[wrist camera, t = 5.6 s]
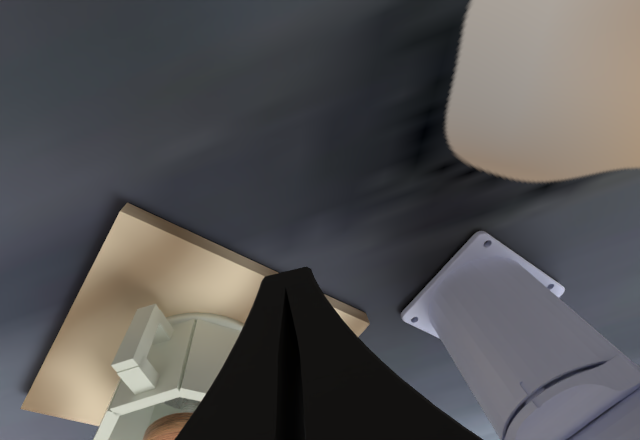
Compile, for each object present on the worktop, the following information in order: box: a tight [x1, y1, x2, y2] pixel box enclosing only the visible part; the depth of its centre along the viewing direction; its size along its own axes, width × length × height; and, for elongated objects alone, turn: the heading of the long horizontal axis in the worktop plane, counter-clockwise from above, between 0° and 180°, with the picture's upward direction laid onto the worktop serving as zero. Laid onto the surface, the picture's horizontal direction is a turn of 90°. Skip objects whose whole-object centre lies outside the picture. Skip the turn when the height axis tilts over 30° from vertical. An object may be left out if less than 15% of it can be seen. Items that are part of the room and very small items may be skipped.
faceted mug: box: [93, 303, 244, 440], centre depth 19 cm, size 11×9×5 cm
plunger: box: [143, 397, 201, 440], centre depth 19 cm, size 6×6×6 cm
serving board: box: [20, 203, 370, 426], centre depth 22 cm, size 16×16×1 cm
